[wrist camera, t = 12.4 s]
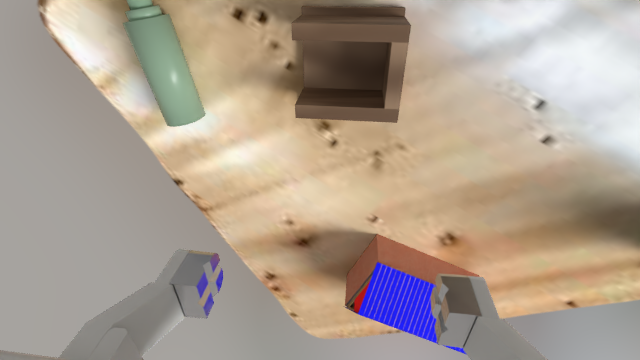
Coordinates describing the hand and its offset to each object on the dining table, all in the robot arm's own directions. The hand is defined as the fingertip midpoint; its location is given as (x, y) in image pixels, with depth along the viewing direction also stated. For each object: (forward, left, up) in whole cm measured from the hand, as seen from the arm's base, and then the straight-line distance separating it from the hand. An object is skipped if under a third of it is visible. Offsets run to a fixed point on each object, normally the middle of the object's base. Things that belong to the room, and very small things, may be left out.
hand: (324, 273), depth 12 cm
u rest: (0, 0, -32) cm, 32 cm away
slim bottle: (+7, -21, -30) cm, 37 cm away
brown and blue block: (+36, +12, -33) cm, 50 cm away
